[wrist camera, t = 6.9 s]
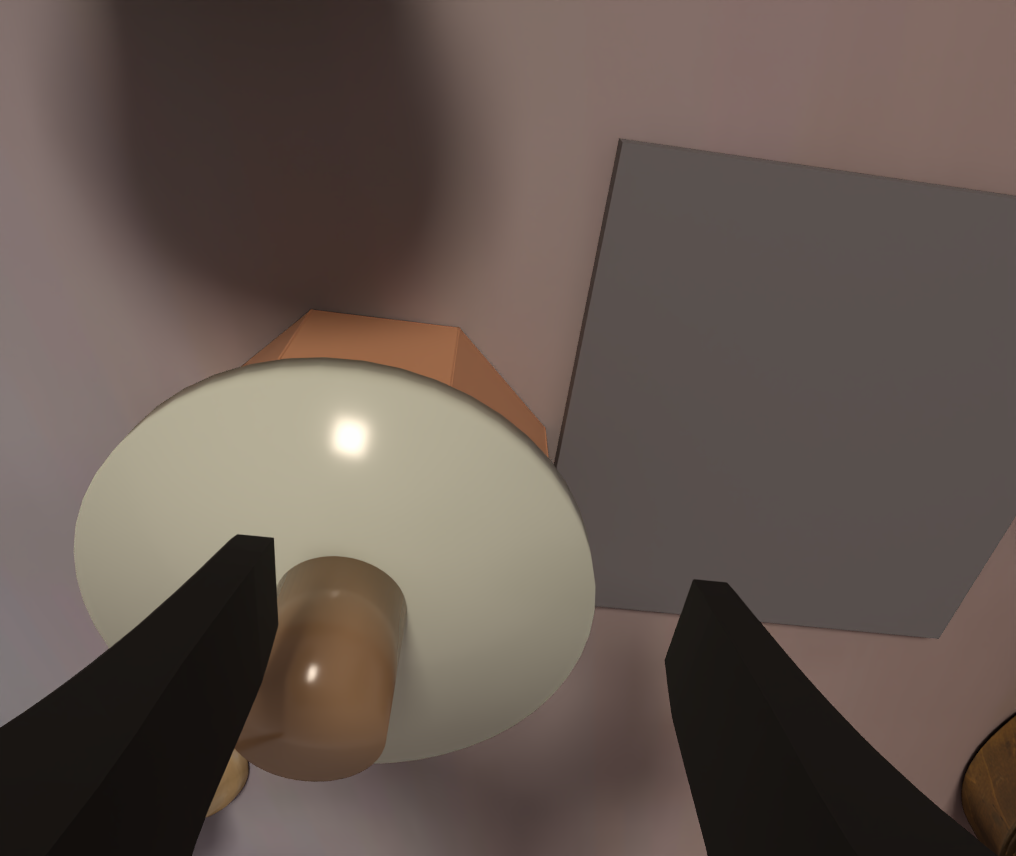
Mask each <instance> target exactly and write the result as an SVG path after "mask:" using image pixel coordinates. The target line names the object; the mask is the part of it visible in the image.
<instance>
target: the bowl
mask: <svg viewBox="0 0 1016 856" xmlns="http://www.w3.org/2000/svg"><path fill="white" fill-rule="evenodd" d="M315 357H328V358H340V359H351V360H363V361H368V362H373V363H378V364H383V365H388V366H393V367H397V368H402V369H405V370H408V371H411V372H414V373H417V374H420V375H423V376H426V377H429V378H432V379H435V380H438V381H440V382H442V383H445V384H447V385H449V386H451V387H453V388H455V389H458V390H460V391H462V392H464V393H466V394H468V395H471V396H472V397H474V398H476V399H477V400H479V401H480V402H482V403H484V404H485V405H487V406H488V407H490V408H492V409H493V410H495V411H497V412H498V413H500V414H501V415H503V416H504V417H505V418H506V419H508V420H509V421H510V422H511V423H513V424H514V425H515V426H516V427H517V428H519V429H520V430H521V431H522V432H524V433H525V434H526V435H527V436H528V437H529V438H530V439H531V440H532V441H533V442H534V443H535V444H536V445H537V446H538V447H539V448H540V449H541V450H542V451H543V452H544V454H545V455H546V456H547V457H548V448H547V438H546V428H545V427H544V426H543V425H542V424H541V423H540V421H539V420H538V419H537V418H536V417H535V416H534V414H533V413H532V412H531V411H530V410H529V409H528V407H527V406H526V405H525V404H524V403H523V402H522V400H521V399H520V398H519V397H518V396H517V395H516V393H515V392H514V391H513V390H512V389H511V387H510V386H509V385H508V384H507V383H506V382H505V380H504V379H503V378H502V377H501V376H500V375H499V373H498V372H497V371H496V370H495V369H494V368H493V366H492V365H491V364H490V363H489V362H488V361H487V359H486V358H485V357H484V356H483V355H482V354H481V352H480V351H479V350H478V349H477V348H476V347H475V345H474V344H473V343H472V342H471V341H470V340H469V338H468V337H467V336H466V335H465V334H464V333H463V331H462V330H461V329H460V328H459V327H450V326H441V325H433V324H425V323H417V322H409V321H401V320H392V319H384V318H376V317H368V316H360V315H352V314H343V313H335V312H327V311H319V310H313V309H310V311H309V312H308V313H306V314H305V315H304V316H303V317H301V318H300V319H299V320H298V321H297V322H295V323H294V324H293V325H292V326H290V327H289V328H288V329H287V330H285V331H284V332H283V333H282V334H281V335H279V336H278V337H277V338H276V339H274V340H273V341H272V342H271V343H269V344H268V345H267V346H266V347H265V348H263V349H262V350H261V351H260V352H258V353H257V354H256V355H255V356H253V357H252V358H251V359H250V360H249V361H247V362H246V363H245V364H244V365H242V366H245V365H249V364H255V363H261V362H267V361H273V360H280V359H286V358H315ZM242 366H241V367H242Z"/></svg>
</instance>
